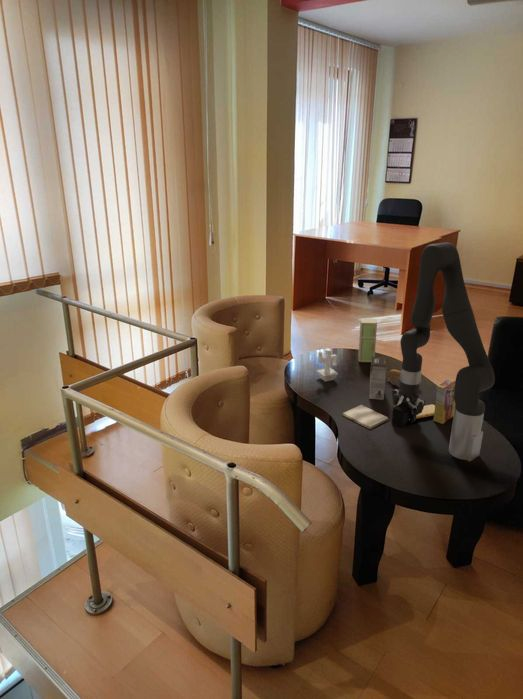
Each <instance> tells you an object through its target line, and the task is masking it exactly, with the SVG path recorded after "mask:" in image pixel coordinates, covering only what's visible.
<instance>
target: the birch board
mask: <svg viewBox="0 0 523 699" xmlns="http://www.w3.org/2000/svg"><path fill="white" fill-rule="evenodd" d="M342 416H344V417H345V418H347V419H349V420H351V421H353V422H355V423H356V424H359V425H361V426H362V427H365V428H367V429H368V430H371V429H373V428H375V427H377V426H379V425H381V424H383V423H385V422H387V421H389V417H388V416H386V415H383V414H382V413H379V412H378V411H375V410H373V409H371V408H369V407H367V406H365V405H363V404H360V405H357V406H356V407H352V408H351V409H348V410H347V411H343V412H342Z"/></svg>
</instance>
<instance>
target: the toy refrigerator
mask: <svg viewBox="0 0 523 699" xmlns="http://www.w3.org/2000/svg"><path fill="white" fill-rule="evenodd" d="M377 330H378V319H377V318H366V317H365V318H364V317H361V318H360V321H359V338H358V339H359V340H358V341H359V342H358V356H357V357H358V362H359V363H371V361H372V357H376V345H377Z"/></svg>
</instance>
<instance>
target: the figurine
mask: <svg viewBox="0 0 523 699" xmlns="http://www.w3.org/2000/svg"><path fill="white" fill-rule="evenodd" d="M317 355H318V357H317V358H318V359H317V360H318V363H320V364H323V363H324V365H323V366H324V368H321V369H316V372H317V374H318V376H319V377H320V379H321V380H323V381H324V382H325V383H326V382H330V381H334V380H335V379H336V377H337V376H338V374H339V373H338V372H337V371H335V369H333V368H331V365H333V366H334V367H335V366H337V365H338V355H337V354H332V348H329V347H327V348H326V347H325V348H324V355H323V351H321V350H319V351H318V354H317ZM331 362H332V364H331Z"/></svg>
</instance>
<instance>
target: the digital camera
mask: <svg viewBox="0 0 523 699" xmlns="http://www.w3.org/2000/svg"><path fill="white" fill-rule="evenodd" d="M416 403H417V404H418V402H416ZM417 407H418V405H417ZM410 416H411V410H410V409H409V405H407V404H406V403H403V404H401V405H400V404H399V405H397V406H396V405H395V406H394V407H393V408H392V414H391V424H392V425H394V426H397V427H399V428H402V427H404V426H405V425H407V424H408V423H409V422H410V420H409V419H410ZM410 423H411V422H410Z"/></svg>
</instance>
